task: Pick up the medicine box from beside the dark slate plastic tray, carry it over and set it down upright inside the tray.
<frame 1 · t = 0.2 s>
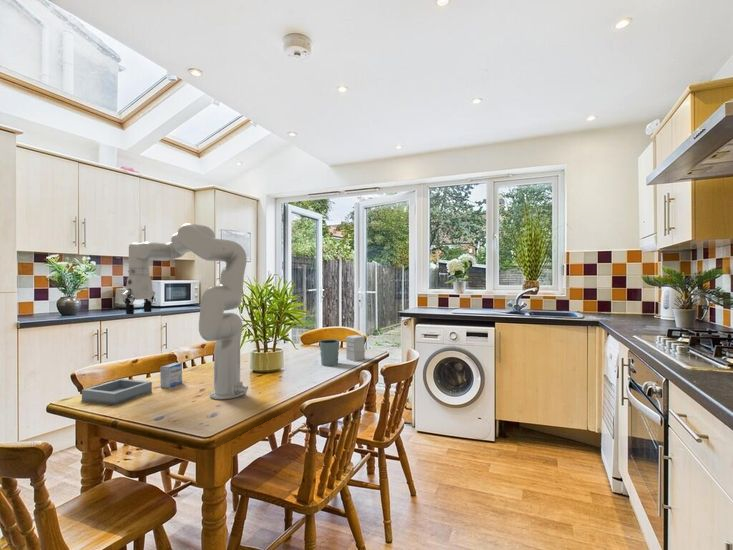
hand: (139, 313, 163), 30 cm above the table, tool pointing down, fingers open, 9 cm apart
grey-green bucket: (329, 364, 199), on the table
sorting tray: (118, 396, 148), on the table
medicine box: (171, 385, 163), on the table
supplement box: (355, 359, 211), on the table
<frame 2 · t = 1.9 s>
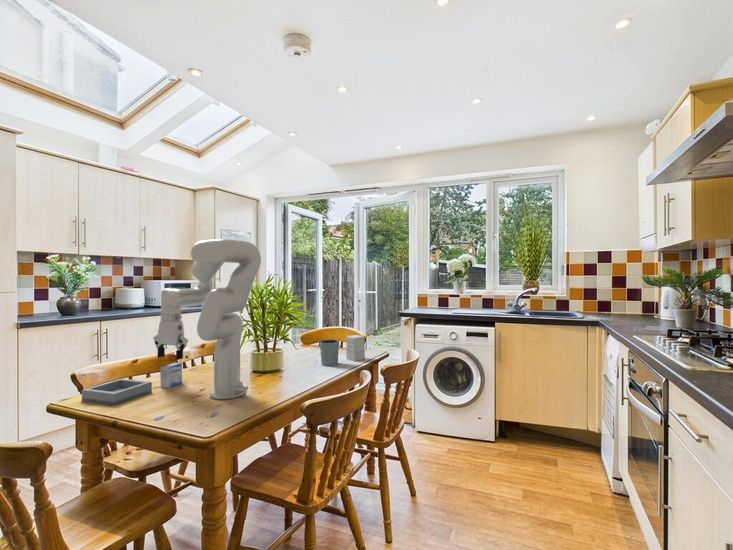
hand: (170, 358, 163), 11 cm above the table, tool pointing down, fingers open, 9 cm apart
nothing on the table moved.
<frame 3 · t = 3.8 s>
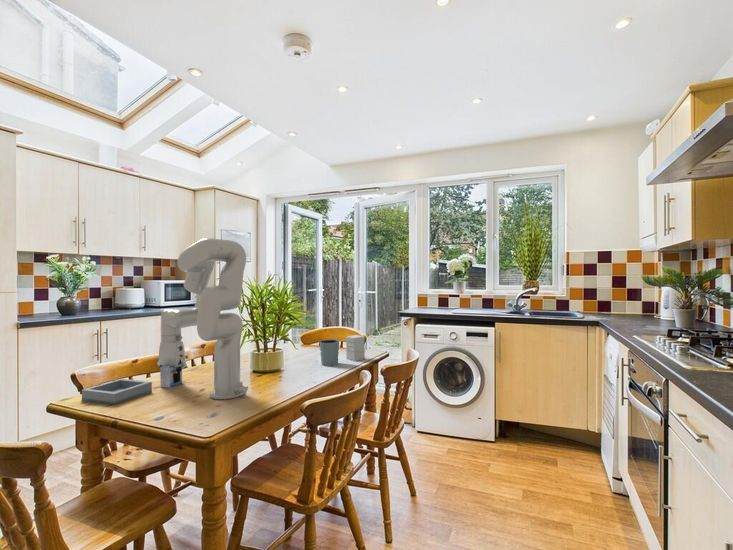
hand: (171, 381, 163), 2 cm above the table, tool pointing down, fingers closed on medicine box, 4 cm apart
medicine box: (171, 385, 163), on the table, touching gripper
everything else where it was.
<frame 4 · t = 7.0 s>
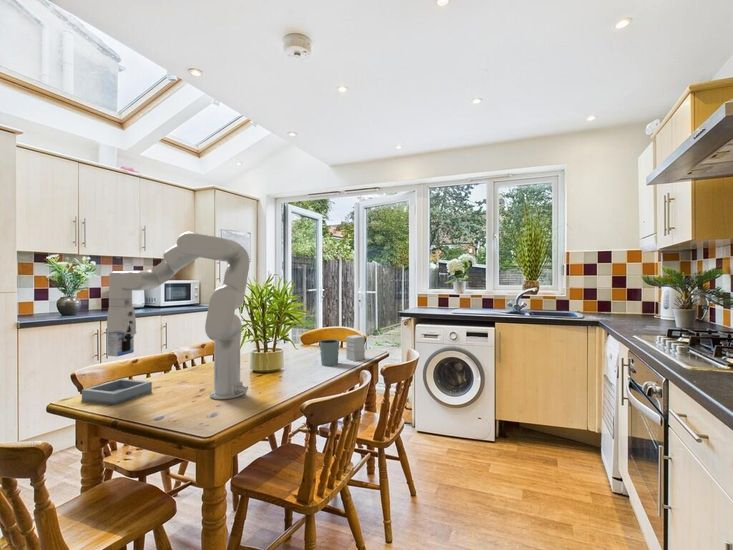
hand: (120, 350, 149), 18 cm above the table, tool pointing down, fingers closed on medicine box, 4 cm apart
medicine box: (120, 354, 149), point 16 cm above the table, touching gripper
everything else where it was.
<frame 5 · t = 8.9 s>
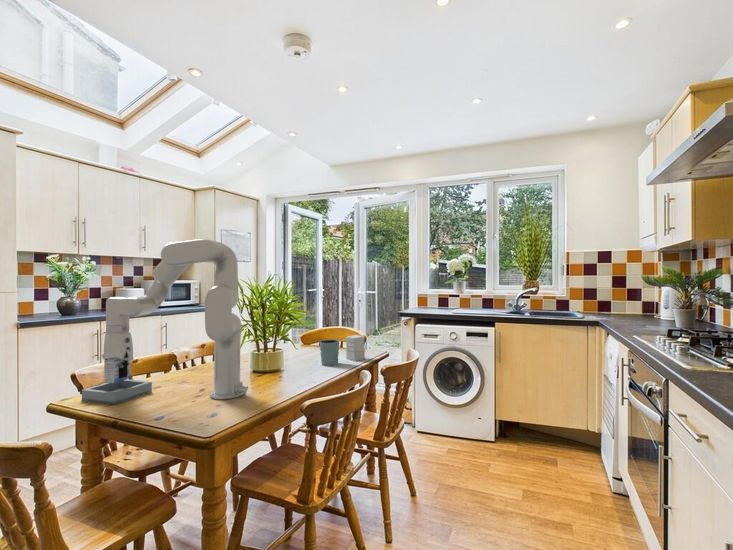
hand: (117, 376, 148), 8 cm above the table, tool pointing down, fingers closed on medicine box, 4 cm apart
medicine box: (117, 381, 148), point 6 cm above the table, touching gripper
everything else where it was.
when the fingers open (5 cm above the table, at t = 10.3 s): medicine box drops 2 cm, resting on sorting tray.
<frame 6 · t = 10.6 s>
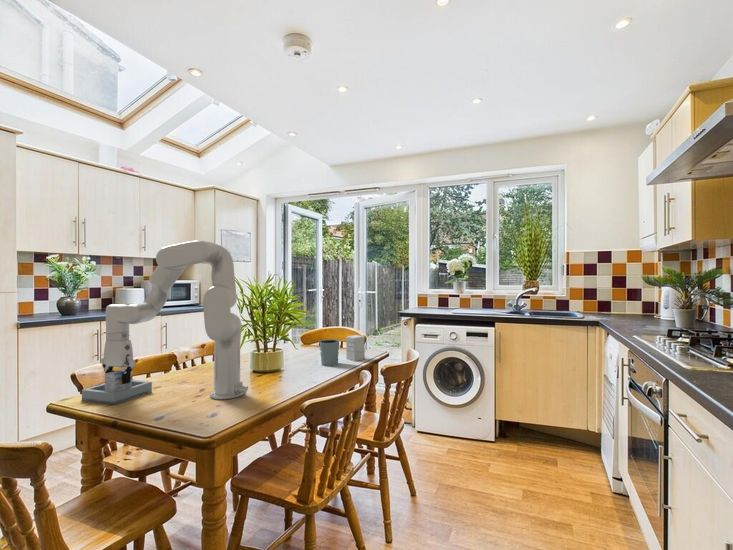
hand: (117, 382, 148), 5 cm above the table, tool pointing down, fingers open, 7 cm apart
medicine box: (118, 394, 148), point 1 cm above the table, touching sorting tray
everything else where it was.
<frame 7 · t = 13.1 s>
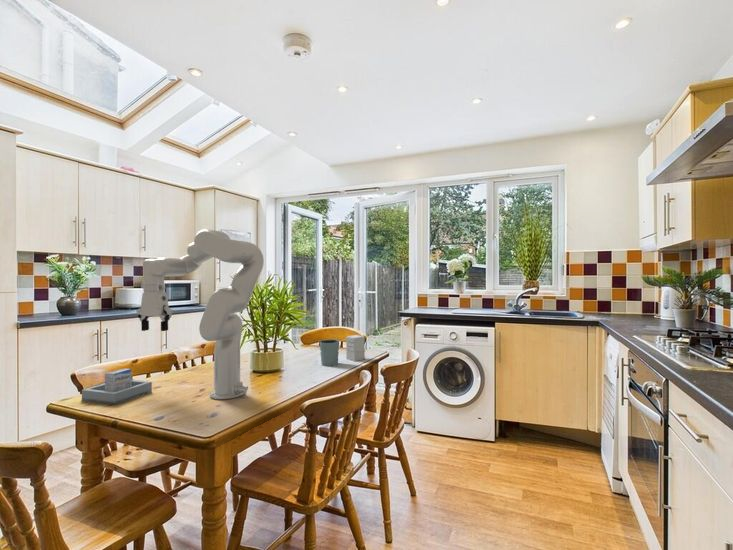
hand: (154, 330, 159), 24 cm above the table, tool pointing down, fingers open, 9 cm apart
nothing on the table moved.
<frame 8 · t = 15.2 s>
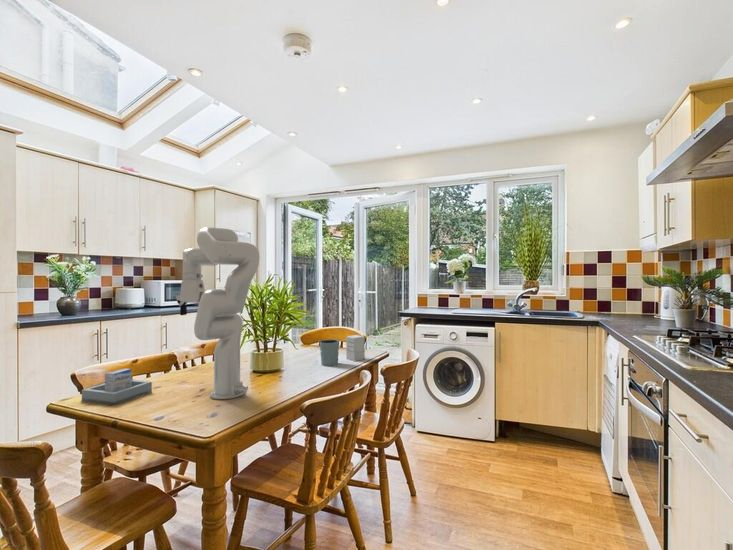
hand: (192, 315, 173), 28 cm above the table, tool pointing down, fingers open, 9 cm apart
nothing on the table moved.
at the end: medicine box inside the target area on the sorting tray (0.2 cm from its centre), point 0.8 cm above the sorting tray's base; medicine box tilted 0°; the gripper is holding nothing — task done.
